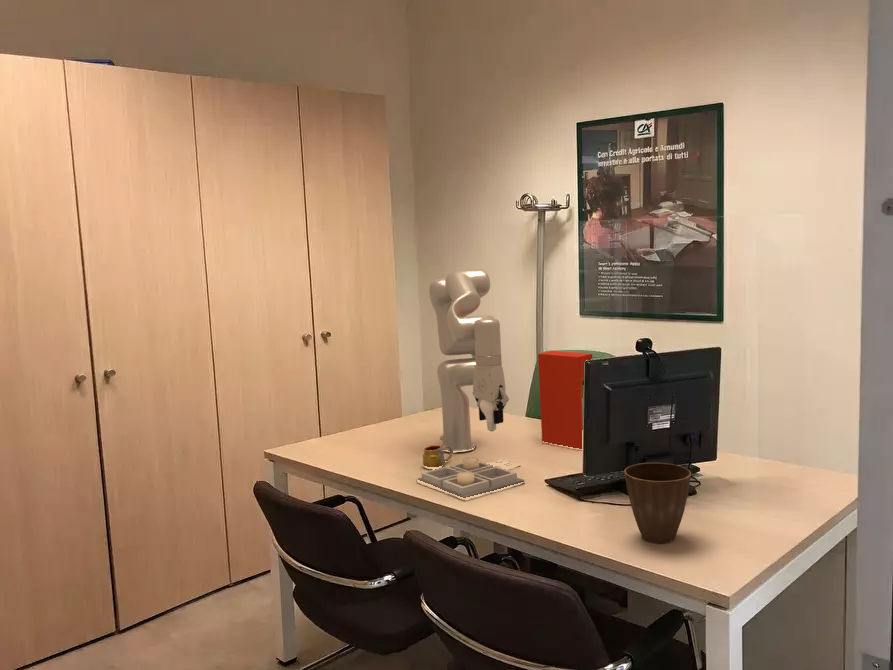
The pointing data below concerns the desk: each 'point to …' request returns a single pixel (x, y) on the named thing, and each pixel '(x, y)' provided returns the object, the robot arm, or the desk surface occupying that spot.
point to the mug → (435, 456)
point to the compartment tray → (470, 478)
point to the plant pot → (657, 498)
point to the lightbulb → (488, 413)
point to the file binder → (562, 397)
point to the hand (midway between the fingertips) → (491, 420)
